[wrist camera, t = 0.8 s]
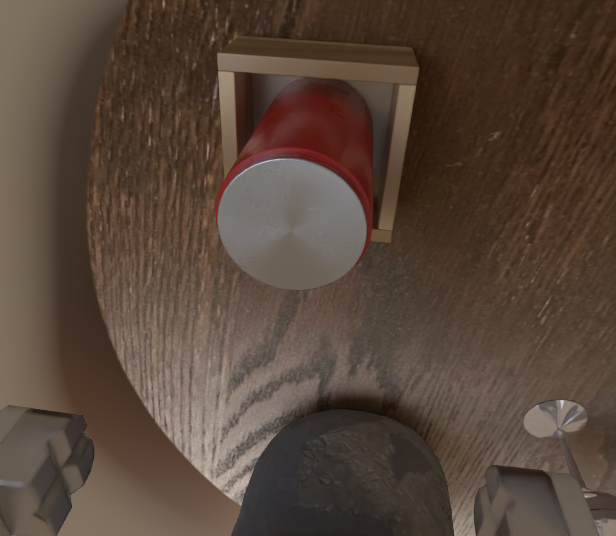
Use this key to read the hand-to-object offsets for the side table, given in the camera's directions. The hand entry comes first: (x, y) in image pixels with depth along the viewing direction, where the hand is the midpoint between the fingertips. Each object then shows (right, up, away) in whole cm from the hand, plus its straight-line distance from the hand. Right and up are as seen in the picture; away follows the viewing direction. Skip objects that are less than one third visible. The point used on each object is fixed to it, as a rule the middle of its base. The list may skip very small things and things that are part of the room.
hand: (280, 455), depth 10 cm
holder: (+1, +12, +19) cm, 22 cm away
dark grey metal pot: (+4, -11, +35) cm, 37 cm away
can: (+1, +12, +18) cm, 22 cm away
